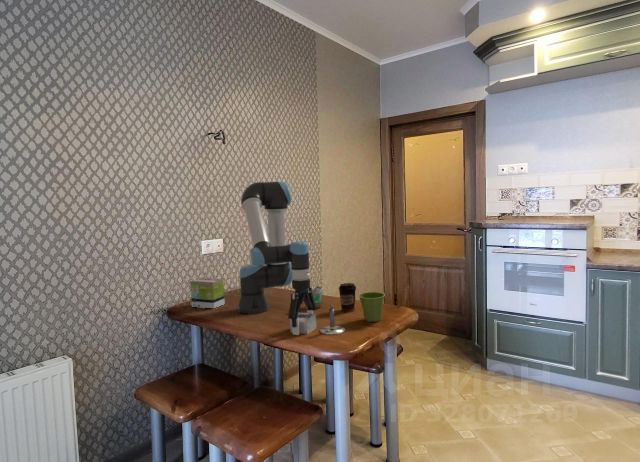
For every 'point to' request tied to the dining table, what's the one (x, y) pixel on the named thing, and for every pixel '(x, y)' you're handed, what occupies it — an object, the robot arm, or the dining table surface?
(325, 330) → the post
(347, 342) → the dining table surface
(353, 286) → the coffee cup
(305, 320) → the collar
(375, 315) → the plant pot
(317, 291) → the food container
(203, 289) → the tea box
